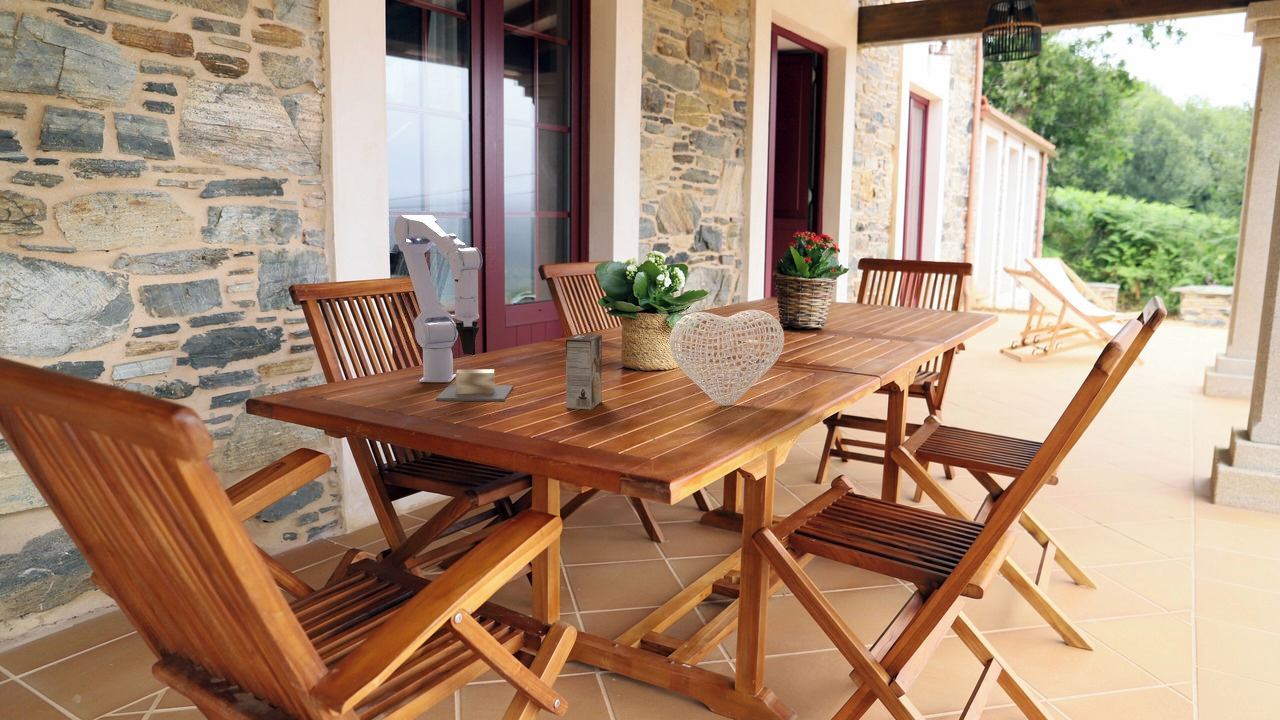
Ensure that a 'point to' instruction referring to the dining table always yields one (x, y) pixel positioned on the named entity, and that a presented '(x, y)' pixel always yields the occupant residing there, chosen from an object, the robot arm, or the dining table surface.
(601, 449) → the dining table surface
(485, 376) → the pale wooden block
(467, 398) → the rubber mat
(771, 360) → the heart
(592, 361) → the coffee box
